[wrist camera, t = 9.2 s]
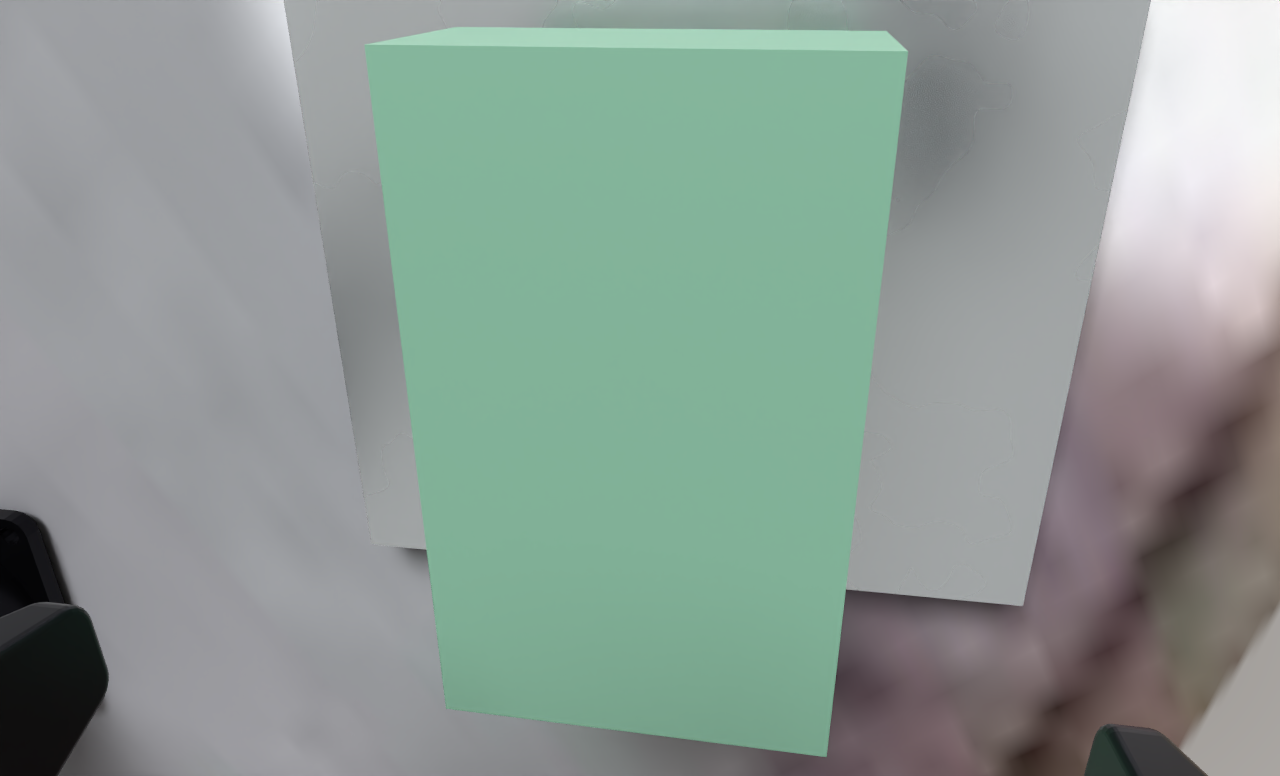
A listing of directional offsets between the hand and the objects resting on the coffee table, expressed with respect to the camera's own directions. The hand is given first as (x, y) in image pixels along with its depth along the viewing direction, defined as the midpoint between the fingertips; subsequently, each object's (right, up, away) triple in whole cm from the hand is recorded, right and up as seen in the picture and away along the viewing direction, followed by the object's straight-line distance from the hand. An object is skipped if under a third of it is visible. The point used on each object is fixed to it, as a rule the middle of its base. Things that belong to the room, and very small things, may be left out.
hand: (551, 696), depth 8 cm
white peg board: (+2, +5, +10) cm, 11 cm away
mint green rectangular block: (+1, +3, +7) cm, 8 cm away
